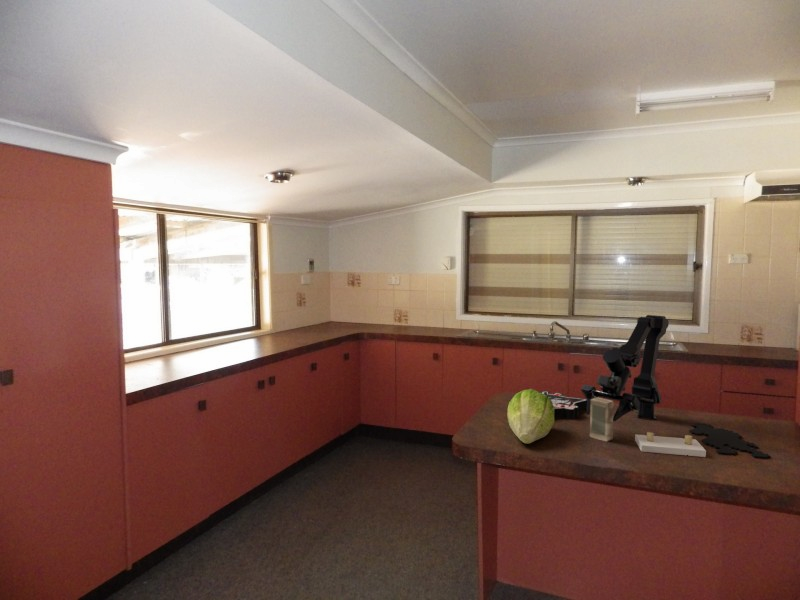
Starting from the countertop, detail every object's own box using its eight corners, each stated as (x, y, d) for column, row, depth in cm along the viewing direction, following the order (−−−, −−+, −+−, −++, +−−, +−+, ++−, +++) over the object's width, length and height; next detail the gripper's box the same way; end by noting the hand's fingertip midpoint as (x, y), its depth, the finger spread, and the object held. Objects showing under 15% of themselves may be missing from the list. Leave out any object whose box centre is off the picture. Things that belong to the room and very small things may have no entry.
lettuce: (552, 463, 159) (504, 461, 165) (558, 416, 179) (515, 416, 186) (545, 425, 154) (495, 425, 160) (552, 382, 174) (507, 383, 181)
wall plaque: (589, 396, 205) (579, 416, 179) (589, 406, 206) (578, 428, 179) (522, 388, 218) (503, 406, 192) (522, 397, 219) (502, 416, 192)
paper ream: (595, 434, 172) (596, 397, 171) (612, 438, 167) (613, 401, 166) (589, 436, 169) (590, 399, 168) (606, 441, 164) (607, 403, 163)
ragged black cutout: (771, 460, 149) (729, 427, 179) (772, 457, 149) (730, 425, 178) (712, 455, 153) (681, 424, 182) (713, 452, 153) (681, 422, 182)
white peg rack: (635, 440, 166) (635, 427, 165) (695, 445, 161) (696, 431, 160) (641, 451, 156) (641, 437, 156) (705, 457, 151) (706, 442, 151)
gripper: (584, 362, 176) (566, 397, 170) (637, 370, 162) (619, 410, 156) (595, 380, 182) (578, 415, 176) (647, 390, 168) (630, 429, 161)
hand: (600, 417), depth 167 cm, fingers open, 9 cm apart
